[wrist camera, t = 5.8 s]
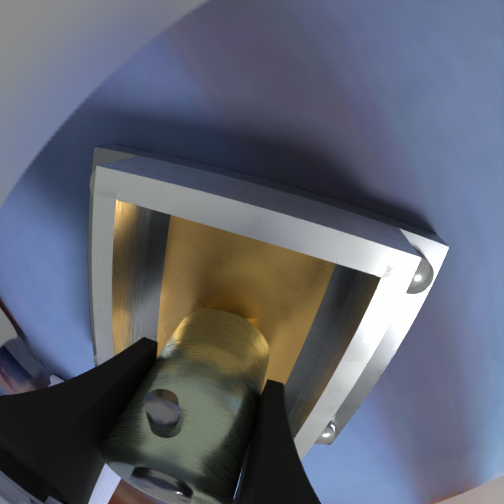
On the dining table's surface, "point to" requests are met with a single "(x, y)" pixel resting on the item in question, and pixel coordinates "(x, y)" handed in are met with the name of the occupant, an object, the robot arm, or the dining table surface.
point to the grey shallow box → (255, 275)
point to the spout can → (193, 412)
